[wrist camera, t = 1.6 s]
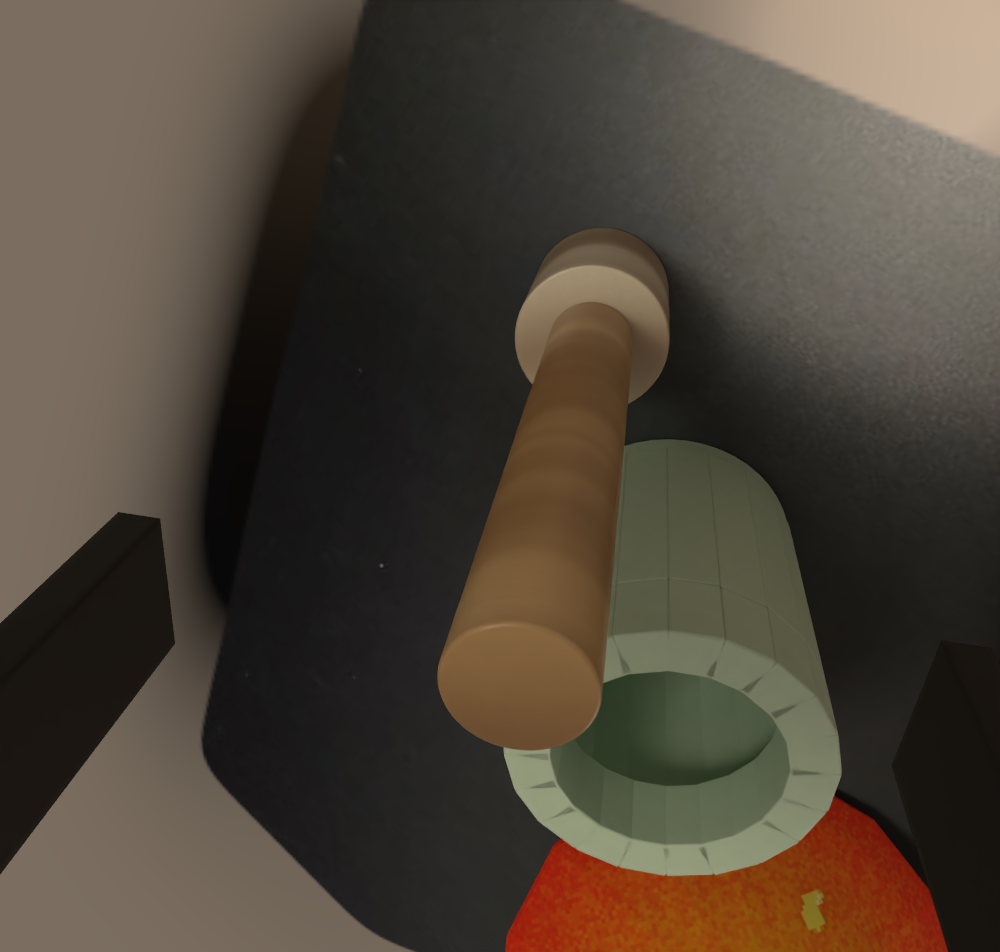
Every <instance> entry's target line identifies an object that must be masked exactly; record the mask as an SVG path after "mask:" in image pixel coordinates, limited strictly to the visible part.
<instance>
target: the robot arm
mask: <svg viewBox="0 0 1000 952" xmlns="http://www.w3.org/2000/svg"><path fill="white" fill-rule="evenodd" d="M174 644H175V640H174V632H173V623H172V615H171V607H170V598H169V590H168V582H167V574H166V565H165V557H164V548H163V540H162V533H161V523H160V519H159V518H152V517H146V516H140V515H133V514H127V513H120V512H118V513H117V514H116V515H115V516H114V517H113V518H112V519H111V520H110V521H109V522H107V523H106V525H104V526H103V527H102V528H101V529H100V530H99V531H98V532H97V533H96V534H95V535H94V536H93V537H92V538H91V539H89V540H88V541H87V542H86V543H85V544H84V545H83V546H82V547H81V548H80V549H79V550H78V551H77V552H76V553H75V554H74V555H72V556H71V557H70V558H69V559H68V560H67V561H66V562H65V563H64V564H63V565H62V566H61V567H60V568H59V569H58V570H56V571H55V572H54V573H53V574H52V575H51V576H50V577H49V578H48V579H47V580H46V581H45V582H44V583H43V584H42V585H41V586H39V587H38V588H37V589H36V590H35V591H34V592H33V593H32V594H31V595H30V596H29V597H28V598H27V599H26V600H25V601H24V602H23V603H21V604H20V605H19V606H18V607H17V608H16V609H15V610H14V611H13V612H12V613H11V614H10V615H9V616H8V617H7V618H5V619H4V620H3V621H2V622H1V623H0V874H1V873H2V871H3V870H4V869H5V867H6V866H7V865H8V863H9V862H10V861H11V859H12V858H13V857H14V855H15V854H16V853H17V851H18V850H19V849H20V848H21V846H22V845H23V844H24V842H25V841H26V840H27V838H28V837H29V836H30V834H31V833H32V832H33V830H34V829H35V827H36V826H37V825H38V824H39V822H40V821H41V820H42V818H43V817H44V816H45V815H46V813H47V812H48V810H49V809H50V808H51V806H52V805H53V804H54V803H55V801H56V800H57V799H58V797H59V796H60V795H61V793H62V792H63V791H64V789H65V788H66V787H67V785H68V784H69V783H70V781H71V780H72V779H73V777H74V776H75V775H76V773H77V772H78V771H79V770H80V768H81V767H82V766H83V764H84V763H85V762H86V760H87V759H88V758H89V756H90V755H91V754H92V752H93V751H94V750H95V748H96V747H97V746H98V745H99V743H100V742H101V741H102V739H103V738H104V737H105V735H106V734H107V733H108V731H109V730H110V729H111V727H112V726H113V725H114V723H115V722H116V721H117V719H118V718H119V717H120V715H121V714H122V713H123V711H124V710H125V709H126V707H127V706H128V705H129V704H130V702H131V701H132V700H133V698H134V697H135V696H136V694H137V693H138V692H139V690H140V689H141V688H142V686H143V685H144V684H145V682H146V681H147V680H148V678H149V677H150V676H151V674H152V673H153V672H154V671H155V669H156V668H157V667H158V665H159V664H160V663H161V661H162V660H163V659H164V657H165V656H166V655H167V653H168V652H169V651H170V649H171V648H172V647H173V645H174ZM892 768H893V772H894V775H895V778H896V782H897V785H898V788H899V791H900V795H901V798H902V801H903V805H904V808H905V811H906V815H907V818H908V821H909V825H910V828H911V831H912V834H913V838H914V841H915V844H916V848H917V851H918V854H919V858H920V861H921V864H922V867H923V871H924V874H925V877H926V881H927V884H928V887H929V891H930V894H931V897H932V900H933V904H934V907H935V910H936V914H937V917H938V920H939V924H940V927H941V930H942V933H943V937H944V940H945V943H946V947H947V950H948V952H1000V664H999V662H998V660H997V658H996V656H995V654H994V652H993V650H992V648H986V647H979V646H973V645H966V644H960V643H954V642H947V641H941V643H940V645H939V648H938V650H937V653H936V656H935V658H934V661H933V663H932V666H931V668H930V671H929V673H928V676H927V678H926V681H925V683H924V686H923V688H922V691H921V693H920V696H919V698H918V701H917V703H916V706H915V708H914V711H913V713H912V716H911V718H910V721H909V723H908V726H907V728H906V731H905V734H904V736H903V739H902V741H901V744H900V746H899V749H898V751H897V754H896V756H895V759H894V761H893V764H892Z"/></svg>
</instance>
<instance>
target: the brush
mask: <svg viewBox="0 0 1000 952" xmlns="http://www.w3.org/2000/svg"><path fill="white" fill-rule="evenodd" d="M669 343H670V333H669V286H668V280H667V276H666V273H665V270H664V267H663V265H662V263H661V261H660V260H659V258H658V257H657V255H656V254H655V253H654V251H653V250H652V249H651V248H650V247H649V246H648V245H647V244H645V243H644V242H643V241H642V240H640V239H639V238H637V237H636V236H633V235H631V234H629V233H627V232H624V231H621V230H617V229H612V228H591V229H587V230H582V231H580V232H577V233H574V234H572V235H570V236H568V237H566V238H565V239H564V240H562V241H561V242H559V243H558V244H557V245H556V246H555V247H554V248H553V249H552V250H551V251H550V252H549V253H548V254H547V256H546V257H545V259H544V261H543V262H542V264H541V266H540V268H539V270H538V273H537V275H536V277H535V279H534V282H533V284H532V286H531V288H530V290H529V293H528V295H527V297H526V299H525V301H524V304H523V306H522V308H521V310H520V312H519V316H518V319H517V322H516V329H515V346H516V353H517V357H518V360H519V363H520V365H521V368H522V370H523V371H524V373H525V375H526V377H527V378H528V379H529V381H530V382H531V383H532V388H531V391H530V394H529V397H528V400H527V403H526V406H525V409H524V412H523V415H522V418H521V421H520V423H519V426H518V429H517V432H516V435H515V438H514V441H513V444H512V447H511V450H510V453H509V456H508V459H507V462H506V465H505V468H504V471H503V474H502V477H501V480H500V483H499V486H498V489H497V492H496V495H495V498H494V501H493V504H492V507H491V510H490V513H489V516H488V519H487V522H486V525H485V528H484V531H483V534H482V537H481V540H480V543H479V546H478V549H477V552H476V554H475V557H474V560H473V563H472V566H471V569H470V572H469V575H468V578H467V581H466V584H465V587H464V590H463V593H462V596H461V599H460V602H459V605H458V608H457V611H456V614H455V617H454V620H453V623H452V626H451V629H450V632H449V635H448V638H447V641H446V644H445V647H444V650H443V653H442V656H441V659H440V662H439V665H438V672H437V677H438V686H439V691H440V694H441V697H442V700H443V702H444V704H445V706H446V707H447V709H448V711H449V712H450V713H451V715H452V716H453V717H454V718H455V719H456V720H457V722H458V723H459V724H461V725H462V726H463V727H464V728H465V729H466V730H468V731H469V732H471V733H472V734H474V735H475V736H477V737H479V738H481V739H482V740H485V741H487V742H489V743H492V744H495V745H498V746H501V747H505V748H509V749H515V750H527V751H534V750H544V749H550V748H554V747H557V746H561V745H563V744H565V743H568V742H570V741H572V740H573V739H575V738H577V737H578V736H579V735H581V734H582V733H583V732H584V731H585V730H586V729H587V728H588V727H589V726H590V725H591V723H592V722H593V720H594V719H595V718H596V716H597V714H598V711H599V709H600V706H601V702H602V693H603V681H604V670H605V659H606V647H607V636H608V625H609V613H610V602H611V590H612V579H613V568H614V556H615V545H616V533H617V522H618V511H619V499H620V488H621V477H622V465H623V454H624V442H625V431H626V420H627V408H628V404H629V403H631V402H632V401H634V400H636V399H637V398H639V397H640V396H641V395H643V394H644V393H645V392H646V391H647V390H648V389H649V388H650V387H651V386H652V385H653V384H654V382H655V381H656V380H657V378H658V377H659V375H660V373H661V372H662V370H663V367H664V365H665V362H666V360H667V356H668V352H669Z"/></svg>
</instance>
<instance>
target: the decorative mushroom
mask: <svg viewBox="0 0 1000 952" xmlns="http://www.w3.org/2000/svg"><path fill="white" fill-rule="evenodd" d="M505 952H948V950H947V947H946V943H945V940H944V937H943V933H942V930H941V927H940V924H939V920H938V917H937V914H936V910H935V907H934V904H933V900H932V897H931V894H930V891H929V888H928V887H927V886H926V885H925V883H924V882H923V881H922V880H921V878H920V877H919V876H918V875H917V873H916V872H915V871H914V869H913V868H912V867H911V866H910V864H909V863H908V862H907V861H906V859H905V858H904V857H903V856H902V854H901V853H900V852H899V850H898V849H897V848H896V847H895V845H894V844H893V843H892V842H891V840H890V839H889V838H888V837H887V835H886V834H885V833H884V831H883V830H882V829H881V828H880V826H879V825H878V824H877V823H876V821H875V820H874V819H873V818H871V817H870V816H868V815H866V814H864V813H863V812H861V811H859V810H858V809H856V808H854V807H853V806H851V805H849V804H848V803H846V802H844V801H843V800H841V799H839V798H838V797H836V796H834V797H833V800H832V802H831V805H830V808H829V810H828V811H826V814H825V815H824V816H823V817H822V818H821V819H820V820H819V821H818V822H817V823H816V824H815V825H814V827H813V828H812V829H811V830H810V831H809V832H808V833H807V834H806V835H805V836H804V837H803V838H802V840H800V841H799V842H798V843H797V844H795V845H793V846H792V847H790V848H788V849H786V850H784V851H783V852H781V853H779V854H777V855H775V856H773V857H772V858H770V859H768V860H766V861H764V862H763V863H760V864H757V865H753V866H749V867H745V868H741V869H737V870H733V871H729V872H725V873H721V874H717V875H715V874H714V873H713V874H712V875H683V876H668V875H658V874H653V873H647V872H642V871H637V870H631V869H626V868H621V867H619V866H614V865H612V864H610V863H607V862H605V861H603V860H600V859H598V858H595V857H593V856H591V855H588V854H586V853H584V852H581V851H579V850H577V849H576V848H574V847H572V846H571V845H570V844H568V843H567V842H565V841H564V840H563V839H560V840H559V841H558V842H556V843H555V844H554V845H553V847H552V849H551V851H550V853H549V854H548V856H547V858H546V860H545V862H544V864H543V866H542V868H541V870H540V872H539V874H538V876H537V878H536V879H535V881H534V883H533V885H532V887H531V889H530V891H529V893H528V895H527V897H526V899H525V901H524V903H523V905H522V906H521V908H520V910H519V912H518V914H517V916H516V918H515V920H514V922H513V924H512V926H511V928H510V930H509V931H508V933H507V939H506V948H505Z"/></svg>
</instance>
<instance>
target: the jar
mask: <svg viewBox="0 0 1000 952" xmlns="http://www.w3.org/2000/svg"><path fill="white" fill-rule="evenodd" d="M504 757H505V760H506V763H507V766H508V770H509V773H510V776H511V779H512V782H513V786H514V789H515V791H516V793H517V794H518V795H519V796H520V798H521V799H522V800H523V802H524V803H525V804H526V806H527V807H528V808H529V810H530V811H531V812H532V814H533V815H534V816H535V818H536V819H537V820H538V822H541V823H542V824H543V825H544V826H545V827H547V828H548V829H549V830H551V831H552V832H553V833H555V834H556V835H557V836H559V837H560V838H561V839H563V840H564V841H565V842H567V843H568V844H570V845H571V846H572V847H574V848H576V849H577V850H579V851H581V852H584V853H586V854H588V855H591V856H593V857H595V858H598V859H600V860H603V861H605V862H607V863H610V864H612V865H614V866H619V867H621V868H626V869H631V870H637V871H642V872H647V873H653V874H658V875H668V876H683V875H712V874H713V873H714V874H715V875H717V874H721V873H725V872H729V871H733V870H737V869H741V868H745V867H749V866H753V865H757V864H760V863H763V862H764V861H766V860H768V859H770V858H772V857H773V856H775V855H777V854H779V853H781V852H783V851H784V850H786V849H788V848H790V847H792V846H793V845H795V844H797V843H798V842H799V841H800V840H802V838H803V837H804V836H805V835H806V834H807V833H808V832H809V831H810V830H811V829H812V828H813V827H814V825H815V824H816V823H817V822H818V821H819V820H820V819H821V818H822V817H823V816H824V815H825V814H826V811H828V810H829V808H830V805H831V802H832V800H833V797H834V794H835V791H836V789H837V786H838V783H839V780H840V778H841V773H842V769H841V758H840V747H839V737H838V731H837V727H836V723H835V719H834V714H833V710H832V706H831V702H830V697H829V693H828V689H827V685H826V680H825V677H824V672H823V667H822V663H821V659H820V655H819V650H818V646H817V642H816V638H815V633H814V629H813V625H812V621H811V616H810V612H809V608H808V604H807V599H806V595H805V591H804V587H803V582H802V578H801V574H800V570H799V565H798V561H797V557H796V552H795V548H794V544H793V540H792V535H791V531H790V527H789V524H788V522H787V520H786V517H785V514H784V510H783V508H782V506H781V504H780V502H779V500H778V498H777V496H776V495H775V493H774V492H773V490H772V489H771V487H770V486H769V485H768V483H767V482H766V481H765V480H764V479H763V478H762V477H761V476H760V475H759V474H758V473H757V472H756V471H755V470H753V469H752V468H751V467H750V466H749V465H747V464H746V463H744V462H743V461H741V460H740V459H738V458H736V457H735V456H733V455H731V454H729V453H727V452H725V451H722V450H720V449H718V448H715V447H712V446H709V445H705V444H702V443H697V442H692V441H686V440H674V439H663V440H650V441H643V442H637V443H634V444H630V445H626V446H624V454H623V465H622V477H621V488H620V499H619V511H618V522H617V533H616V545H615V556H614V568H613V579H612V590H611V602H610V613H609V625H608V636H607V647H606V659H605V670H604V681H603V693H602V702H601V706H600V709H599V711H598V714H597V716H596V718H595V719H594V720H593V722H592V723H591V725H590V726H589V727H588V728H587V729H586V730H585V731H584V732H583V733H582V734H581V735H579V736H578V737H577V738H575V739H573V740H572V741H570V742H568V743H565V744H563V745H561V746H557V747H554V748H550V749H544V750H534V751H527V750H515V749H509V748H505V747H504Z"/></svg>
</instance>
